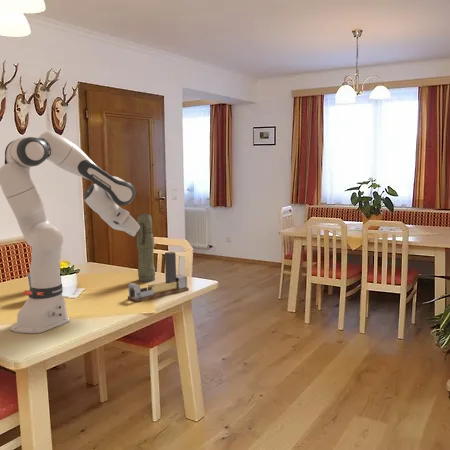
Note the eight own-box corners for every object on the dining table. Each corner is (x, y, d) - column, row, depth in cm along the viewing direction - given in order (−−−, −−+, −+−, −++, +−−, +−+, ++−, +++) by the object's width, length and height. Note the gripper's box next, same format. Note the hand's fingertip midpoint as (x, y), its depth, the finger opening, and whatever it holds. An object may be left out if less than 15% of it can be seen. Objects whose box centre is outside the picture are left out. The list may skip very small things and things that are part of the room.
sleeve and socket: (136, 301, 215) (135, 286, 214) (129, 299, 220) (128, 283, 219) (187, 289, 234) (187, 275, 233) (180, 287, 239) (179, 273, 238)
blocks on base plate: (152, 294, 222) (150, 256, 220) (147, 292, 225) (146, 255, 222) (183, 287, 234) (182, 251, 232) (178, 286, 237) (178, 250, 234)
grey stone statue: (157, 277, 261) (155, 213, 257) (152, 282, 249) (150, 215, 245) (141, 277, 262) (138, 213, 257) (135, 282, 250) (133, 215, 246)
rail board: (137, 302, 214) (137, 299, 214) (127, 298, 220) (127, 296, 220) (188, 290, 234) (188, 287, 233) (178, 287, 239) (178, 284, 239)
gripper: (97, 219, 216) (117, 238, 224) (120, 222, 201) (141, 242, 209) (106, 208, 218) (125, 227, 226) (129, 211, 203) (150, 231, 211)
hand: (133, 234), depth 217 cm, fingers closed
